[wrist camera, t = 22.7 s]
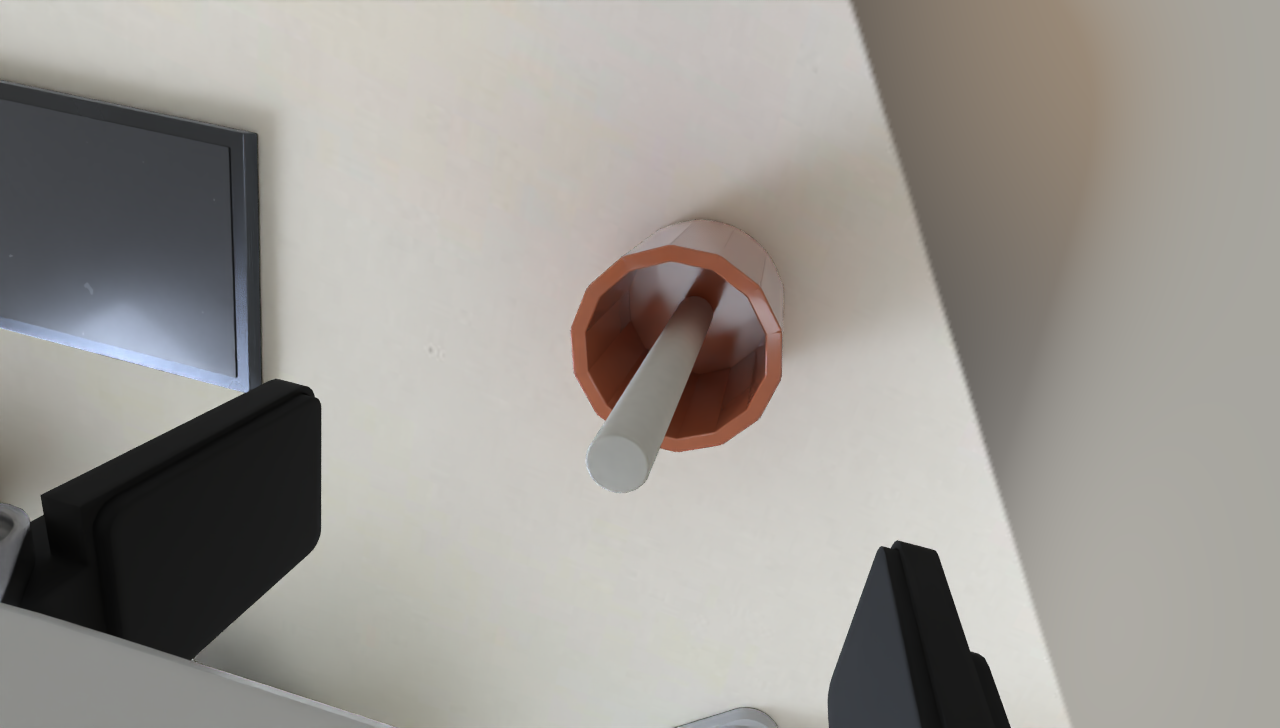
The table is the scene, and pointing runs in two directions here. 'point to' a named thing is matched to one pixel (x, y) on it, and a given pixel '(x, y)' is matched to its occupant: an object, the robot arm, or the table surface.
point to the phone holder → (735, 720)
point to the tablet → (130, 234)
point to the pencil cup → (646, 300)
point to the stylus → (649, 402)
